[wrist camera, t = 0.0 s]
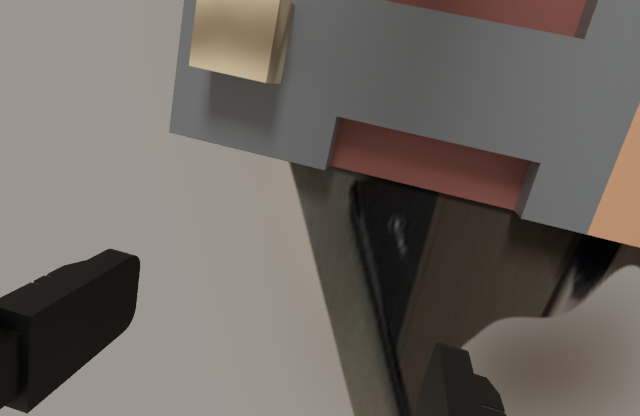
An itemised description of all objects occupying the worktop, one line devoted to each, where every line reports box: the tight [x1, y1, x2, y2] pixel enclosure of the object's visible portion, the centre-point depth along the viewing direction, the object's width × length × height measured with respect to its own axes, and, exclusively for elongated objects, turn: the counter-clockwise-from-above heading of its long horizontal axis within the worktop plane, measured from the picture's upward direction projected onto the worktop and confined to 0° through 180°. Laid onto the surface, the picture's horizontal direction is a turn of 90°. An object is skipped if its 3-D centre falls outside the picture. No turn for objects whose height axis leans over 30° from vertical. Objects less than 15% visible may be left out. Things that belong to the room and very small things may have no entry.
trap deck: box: [169, 0, 640, 248], centre depth 34 cm, size 18×44×6 cm, turn 78°
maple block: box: [189, 0, 295, 84], centre depth 34 cm, size 6×6×4 cm
